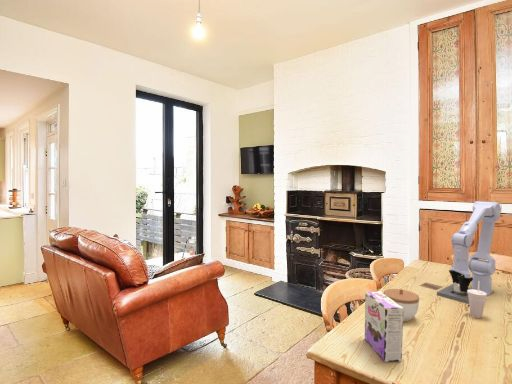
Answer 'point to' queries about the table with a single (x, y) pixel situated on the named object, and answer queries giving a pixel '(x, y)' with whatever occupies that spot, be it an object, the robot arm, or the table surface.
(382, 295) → the candy box
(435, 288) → the tab
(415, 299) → the lidded bowl
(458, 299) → the hole plate
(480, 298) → the smoothie
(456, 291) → the steel peg
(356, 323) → the table surface
